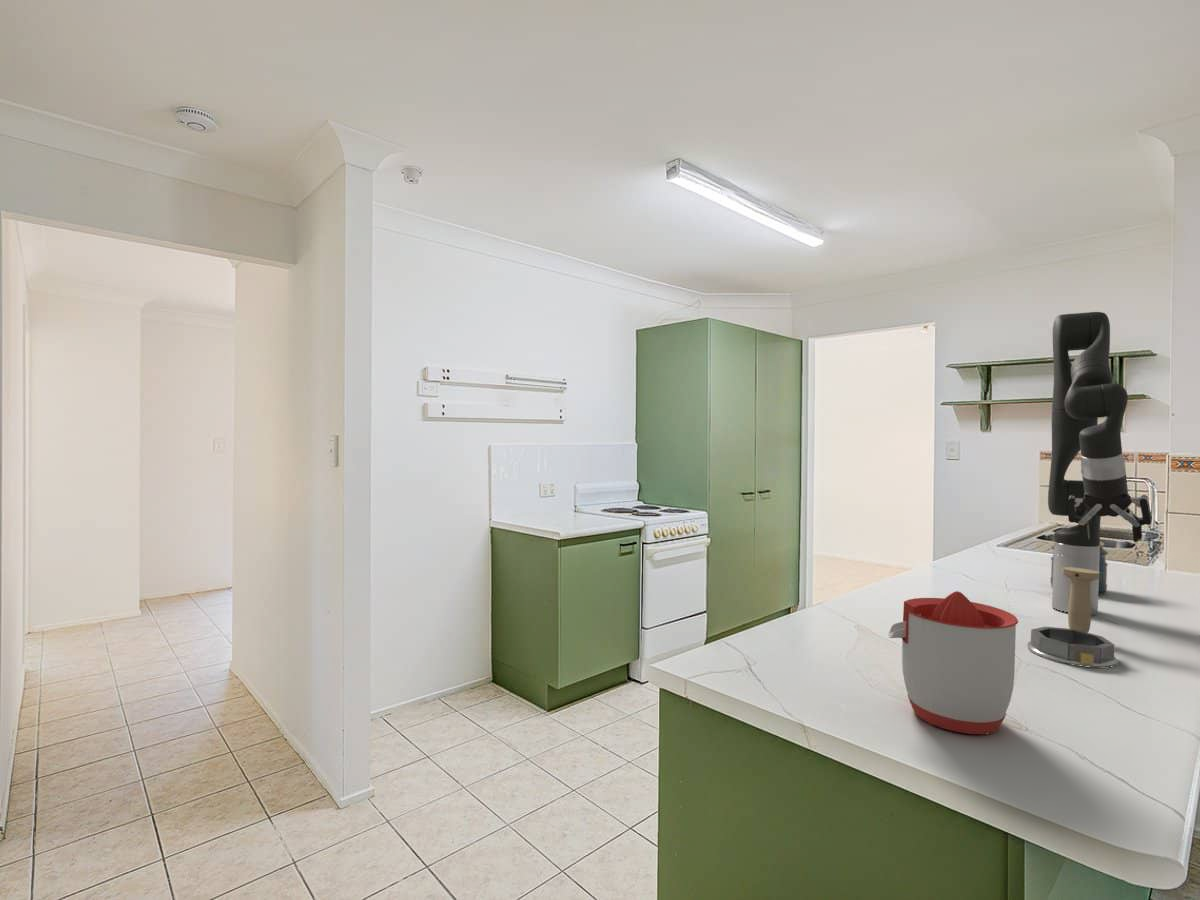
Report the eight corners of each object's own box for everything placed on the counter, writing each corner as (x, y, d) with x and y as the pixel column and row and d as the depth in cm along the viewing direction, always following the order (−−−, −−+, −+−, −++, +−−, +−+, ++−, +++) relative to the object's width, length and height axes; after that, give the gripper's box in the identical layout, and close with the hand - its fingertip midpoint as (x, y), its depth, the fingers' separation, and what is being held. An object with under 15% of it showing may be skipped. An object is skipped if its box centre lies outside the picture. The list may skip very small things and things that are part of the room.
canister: (1066, 594, 171) (1067, 532, 171) (1040, 583, 184) (1042, 525, 184) (1118, 597, 169) (1120, 534, 169) (1088, 585, 182) (1090, 527, 182)
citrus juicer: (884, 689, 106) (887, 574, 105) (1002, 707, 99) (1005, 585, 99) (889, 728, 91) (892, 596, 91) (1027, 753, 85) (1031, 610, 84)
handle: (1093, 644, 130) (1095, 574, 130) (1057, 636, 135) (1059, 568, 135) (1100, 639, 133) (1102, 571, 133) (1065, 632, 138) (1067, 566, 138)
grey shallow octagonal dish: (1017, 638, 133) (1017, 622, 133) (1096, 646, 128) (1097, 629, 128) (1042, 662, 119) (1043, 644, 119) (1132, 672, 114) (1133, 653, 114)
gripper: (1147, 465, 132) (1154, 534, 135) (1066, 467, 142) (1074, 531, 146) (1145, 478, 127) (1152, 549, 130) (1060, 479, 137) (1069, 544, 141)
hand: (1111, 539), depth 138 cm, fingers open, 8 cm apart
